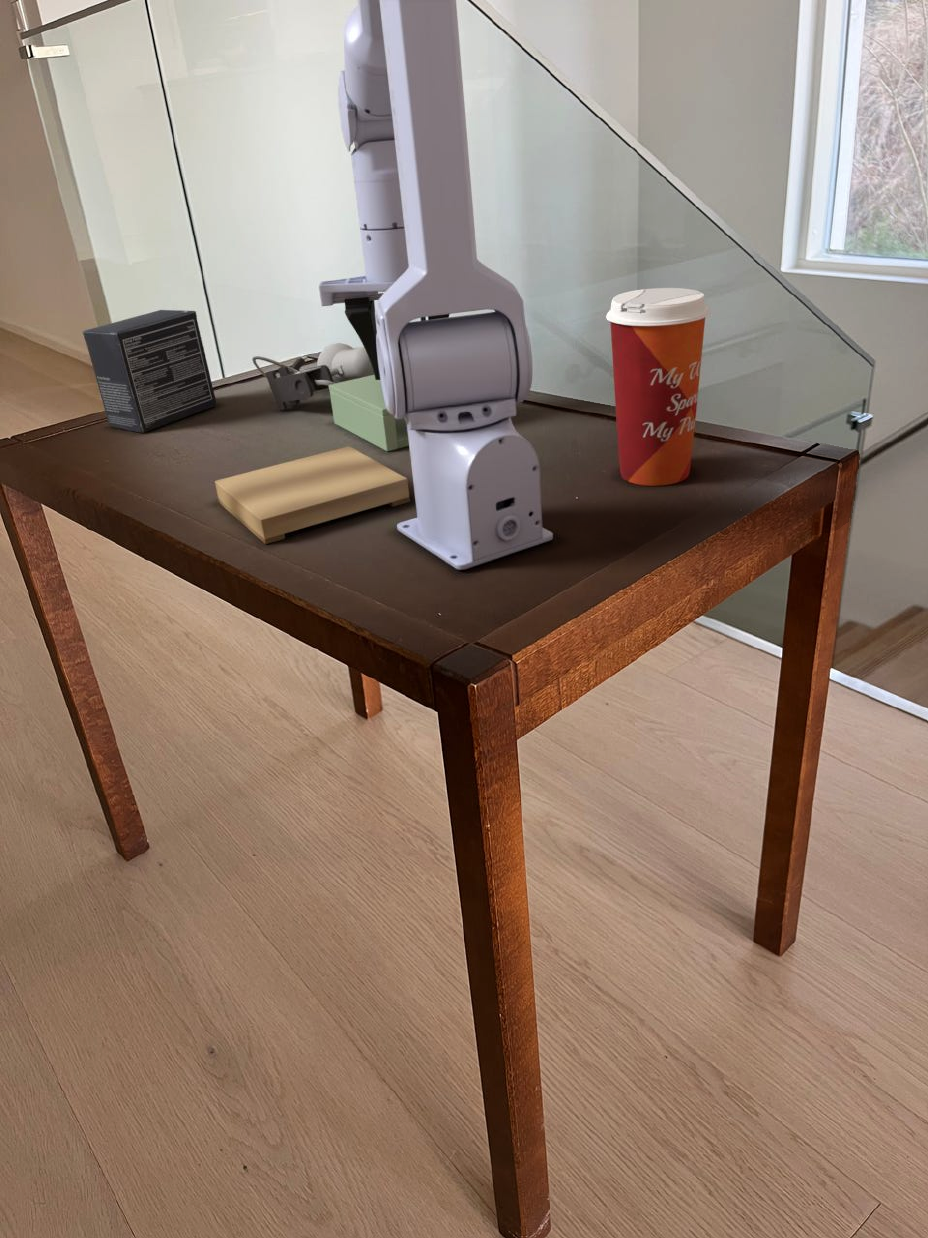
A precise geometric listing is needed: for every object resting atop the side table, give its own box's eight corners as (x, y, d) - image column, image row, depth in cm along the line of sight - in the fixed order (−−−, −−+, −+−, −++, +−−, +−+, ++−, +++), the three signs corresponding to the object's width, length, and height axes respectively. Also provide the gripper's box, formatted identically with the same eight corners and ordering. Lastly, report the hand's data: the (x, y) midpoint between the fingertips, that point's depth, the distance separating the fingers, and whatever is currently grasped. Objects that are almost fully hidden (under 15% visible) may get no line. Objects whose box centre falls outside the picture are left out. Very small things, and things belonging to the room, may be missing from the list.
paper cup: (670, 497, 73) (674, 309, 66) (588, 479, 78) (585, 302, 71) (721, 466, 78) (731, 288, 71) (641, 451, 83) (643, 283, 76)
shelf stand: (495, 422, 93) (493, 382, 91) (387, 451, 88) (381, 409, 86) (435, 398, 102) (431, 361, 100) (334, 423, 97) (328, 384, 95)
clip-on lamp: (246, 417, 113) (306, 413, 98) (226, 364, 110) (284, 352, 95) (331, 385, 118) (401, 377, 103) (314, 334, 115) (382, 318, 100)
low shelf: (410, 501, 77) (407, 478, 76) (265, 544, 71) (260, 520, 70) (352, 467, 85) (349, 445, 84) (219, 503, 80) (214, 480, 79)
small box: (182, 400, 110) (161, 307, 105) (219, 405, 107) (199, 309, 102) (105, 427, 103) (78, 328, 98) (143, 434, 100) (117, 332, 94)
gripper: (469, 213, 90) (480, 358, 96) (317, 227, 90) (337, 370, 97) (471, 222, 83) (482, 376, 90) (307, 237, 84) (330, 389, 90)
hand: (407, 374), depth 93 cm, fingers closed on can, 5 cm apart
